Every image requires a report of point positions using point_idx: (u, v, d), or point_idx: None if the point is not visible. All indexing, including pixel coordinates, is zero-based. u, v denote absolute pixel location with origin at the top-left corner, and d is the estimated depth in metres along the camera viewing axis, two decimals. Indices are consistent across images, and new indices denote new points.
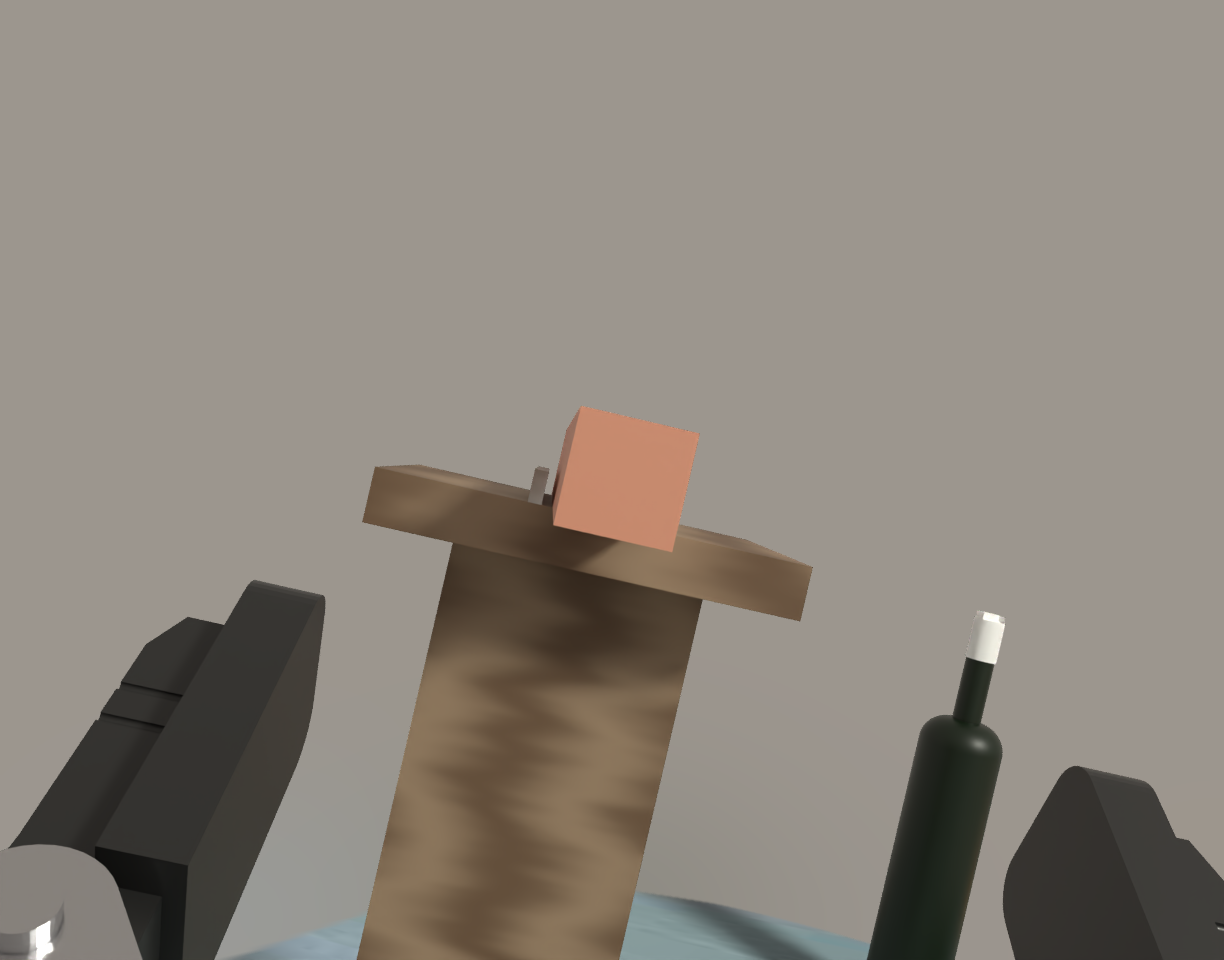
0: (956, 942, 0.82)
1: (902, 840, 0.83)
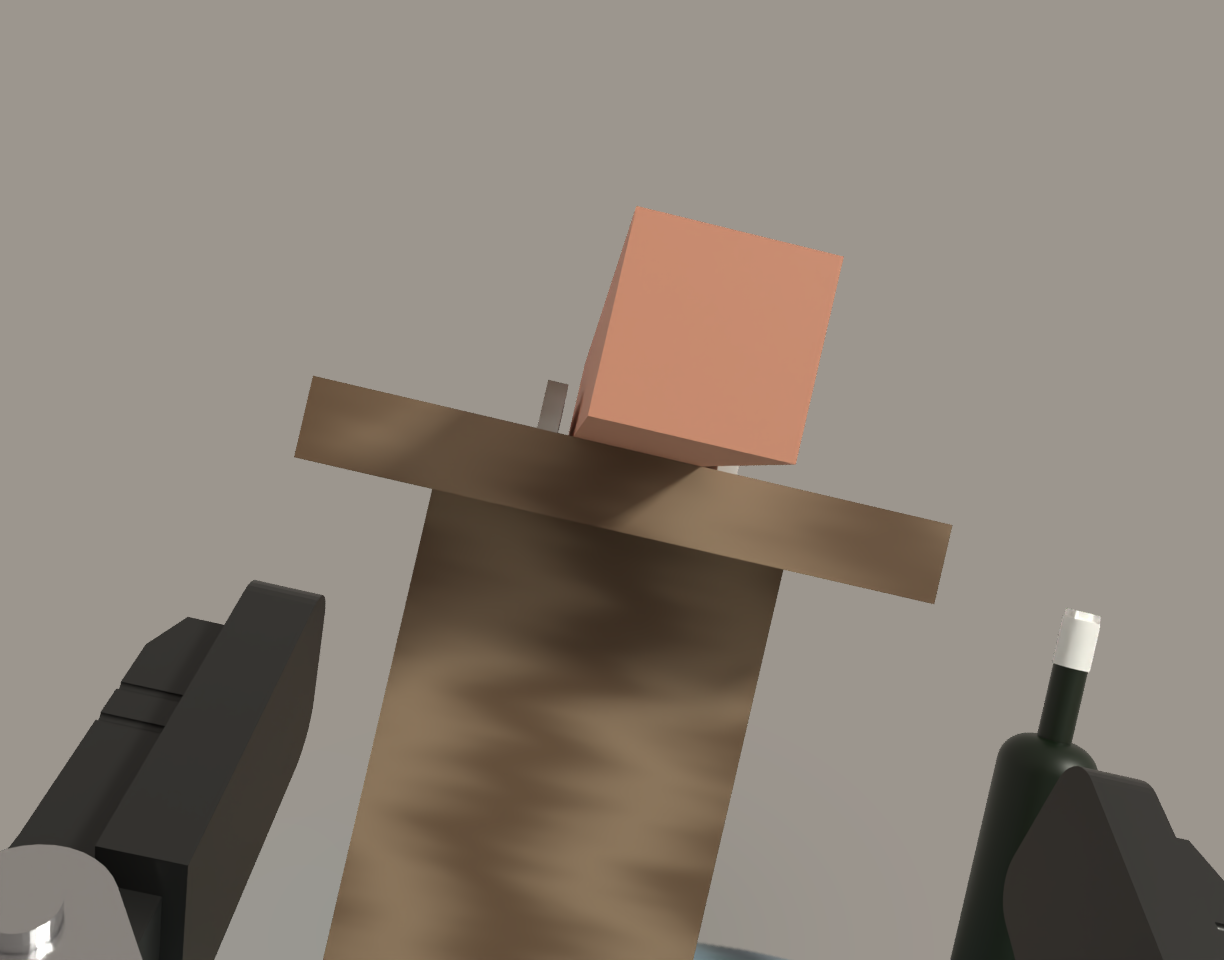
0: None
1: (978, 883, 0.69)
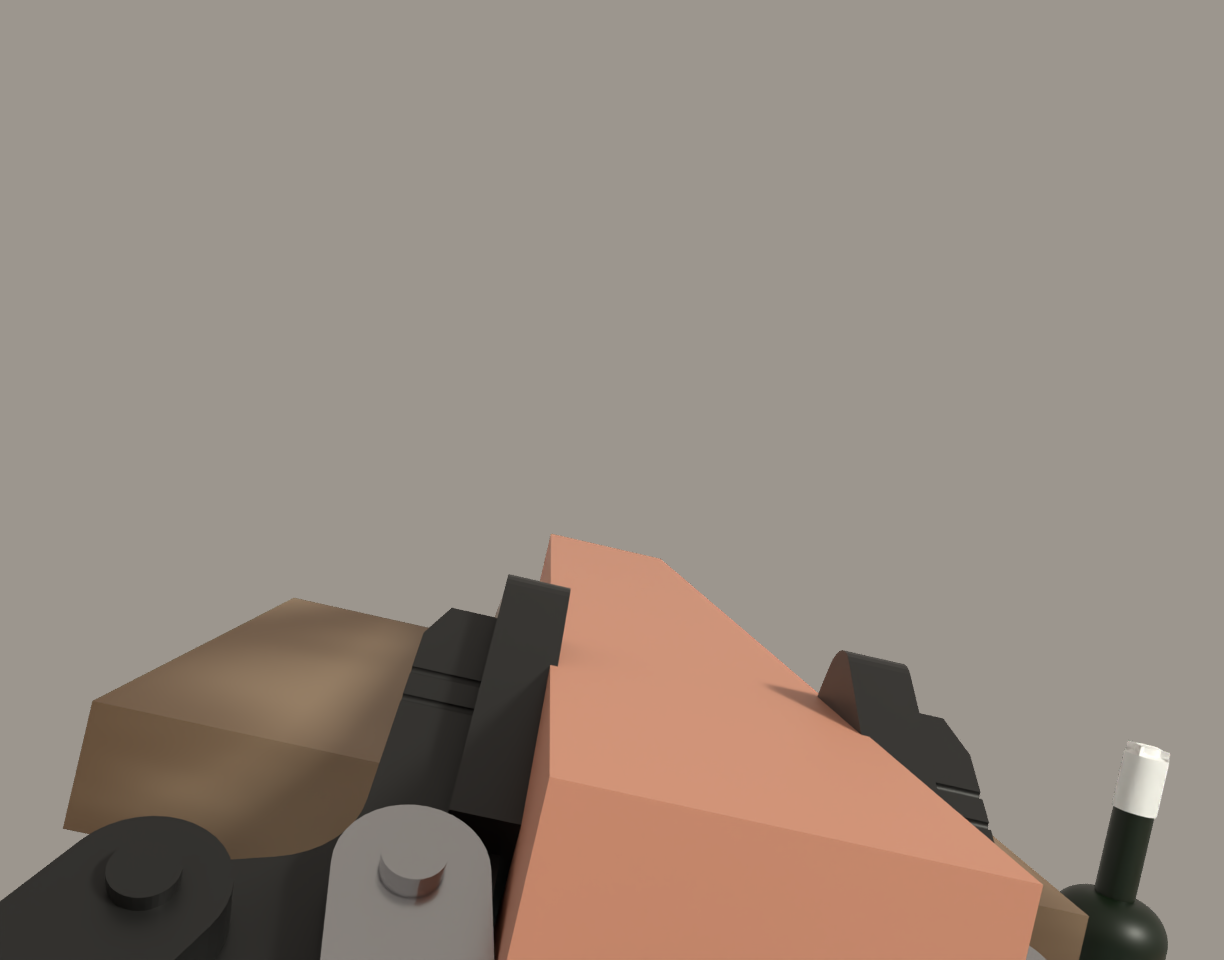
0: None
1: None
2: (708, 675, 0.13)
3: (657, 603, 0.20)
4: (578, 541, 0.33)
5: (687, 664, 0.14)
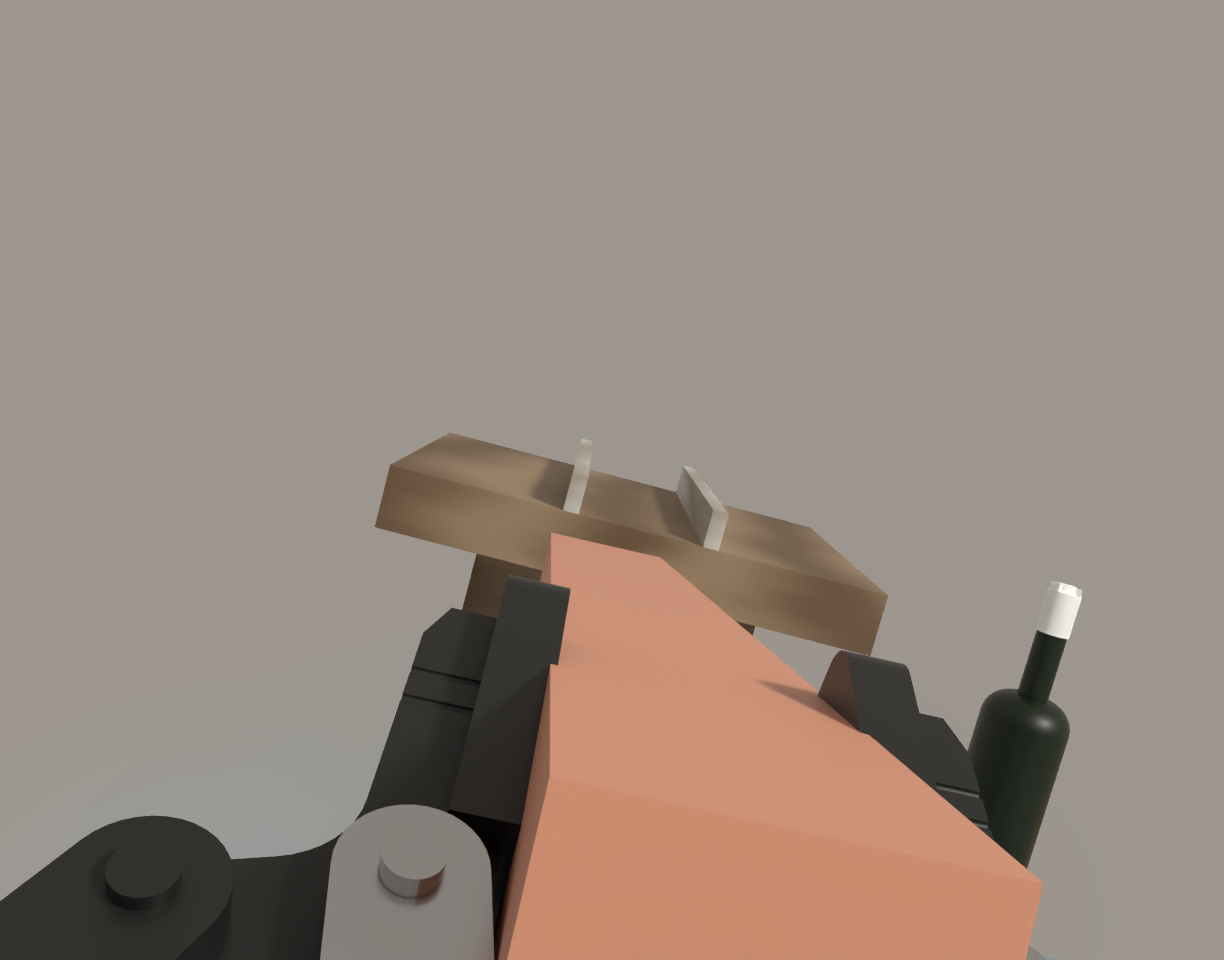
0: None
1: None
2: (708, 674, 0.13)
3: (657, 602, 0.20)
4: (578, 540, 0.33)
5: (687, 663, 0.14)
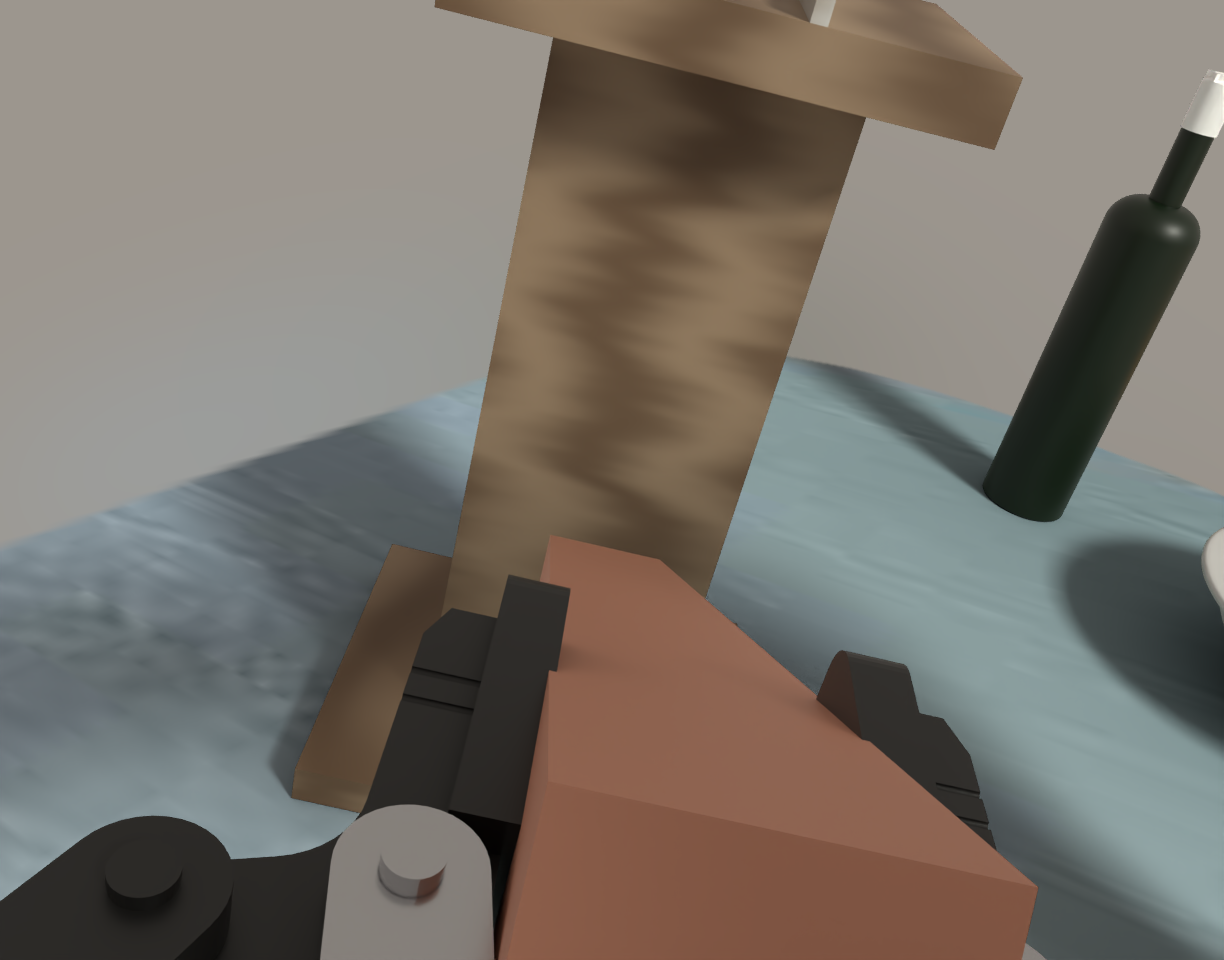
0: (1101, 432, 0.78)
1: (1062, 329, 0.76)
2: (706, 677, 0.13)
3: (656, 604, 0.20)
4: (577, 542, 0.33)
5: (686, 666, 0.14)
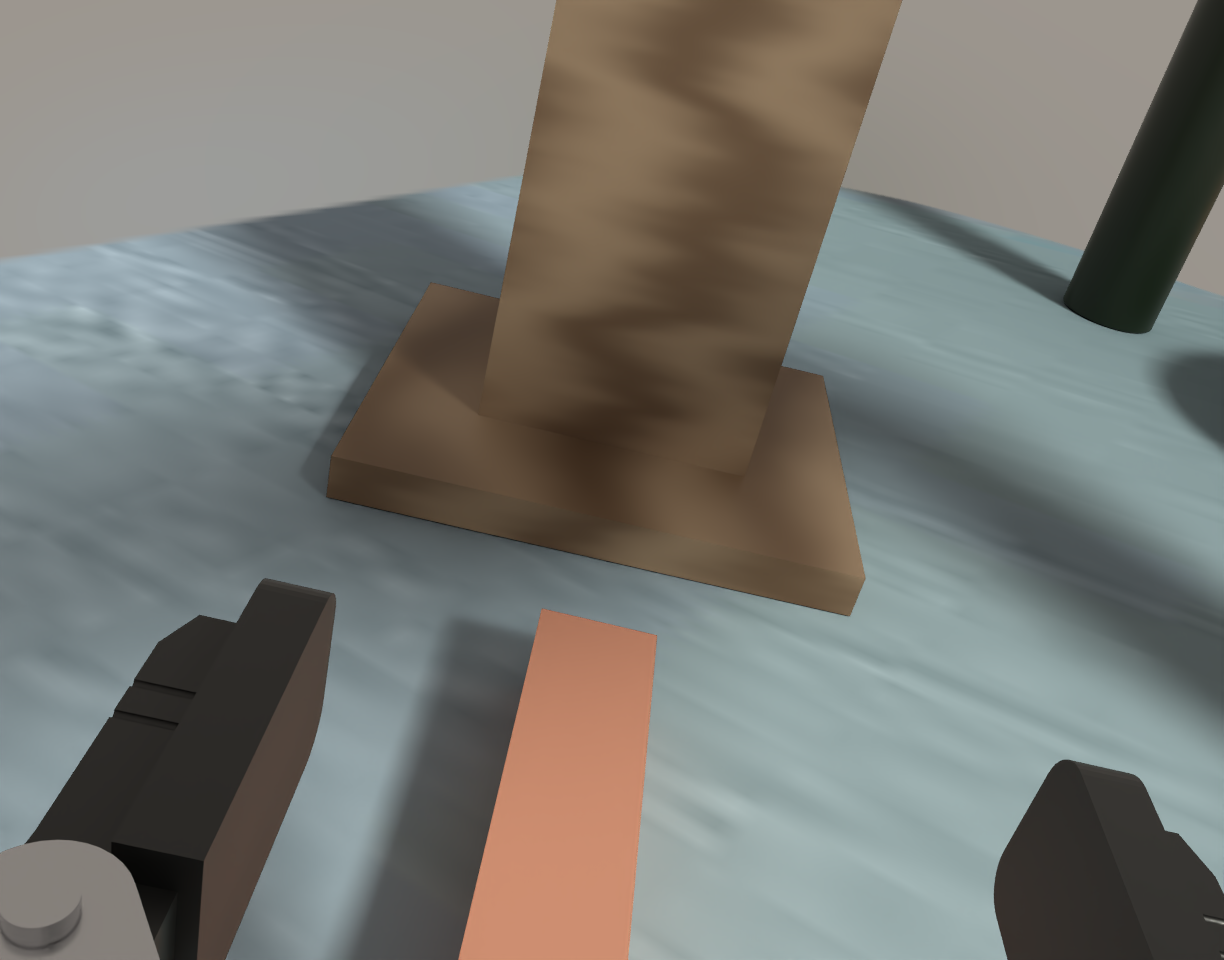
0: (1200, 227, 0.71)
1: (1160, 107, 0.69)
2: None
3: None
4: (566, 631, 0.31)
5: None
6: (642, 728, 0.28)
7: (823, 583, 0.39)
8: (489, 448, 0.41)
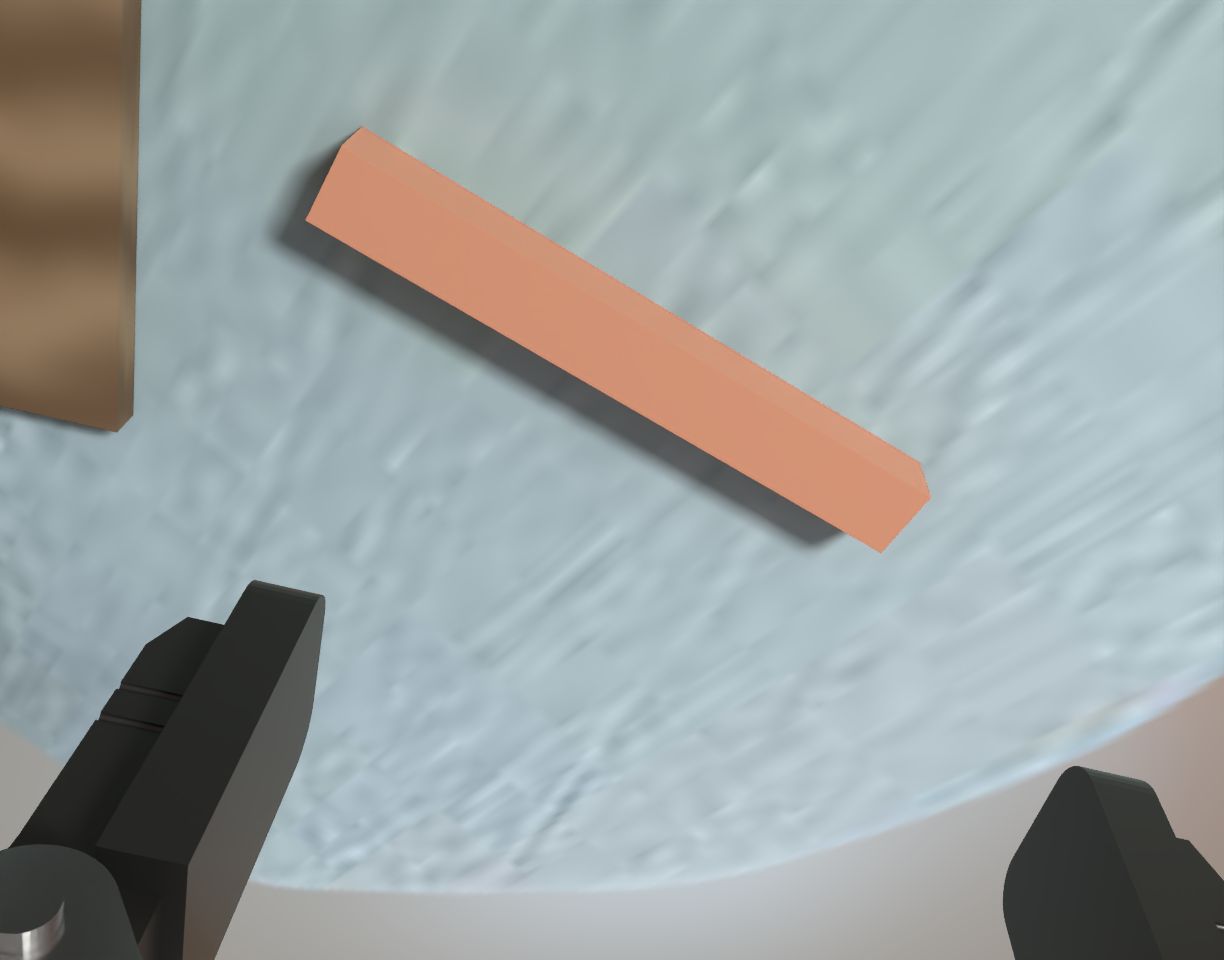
0: None
1: None
2: (792, 453, 0.46)
3: (644, 364, 0.44)
4: (332, 213, 0.42)
5: (779, 450, 0.46)
6: (434, 205, 0.42)
7: (128, 16, 0.41)
8: (47, 312, 0.46)
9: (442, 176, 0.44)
